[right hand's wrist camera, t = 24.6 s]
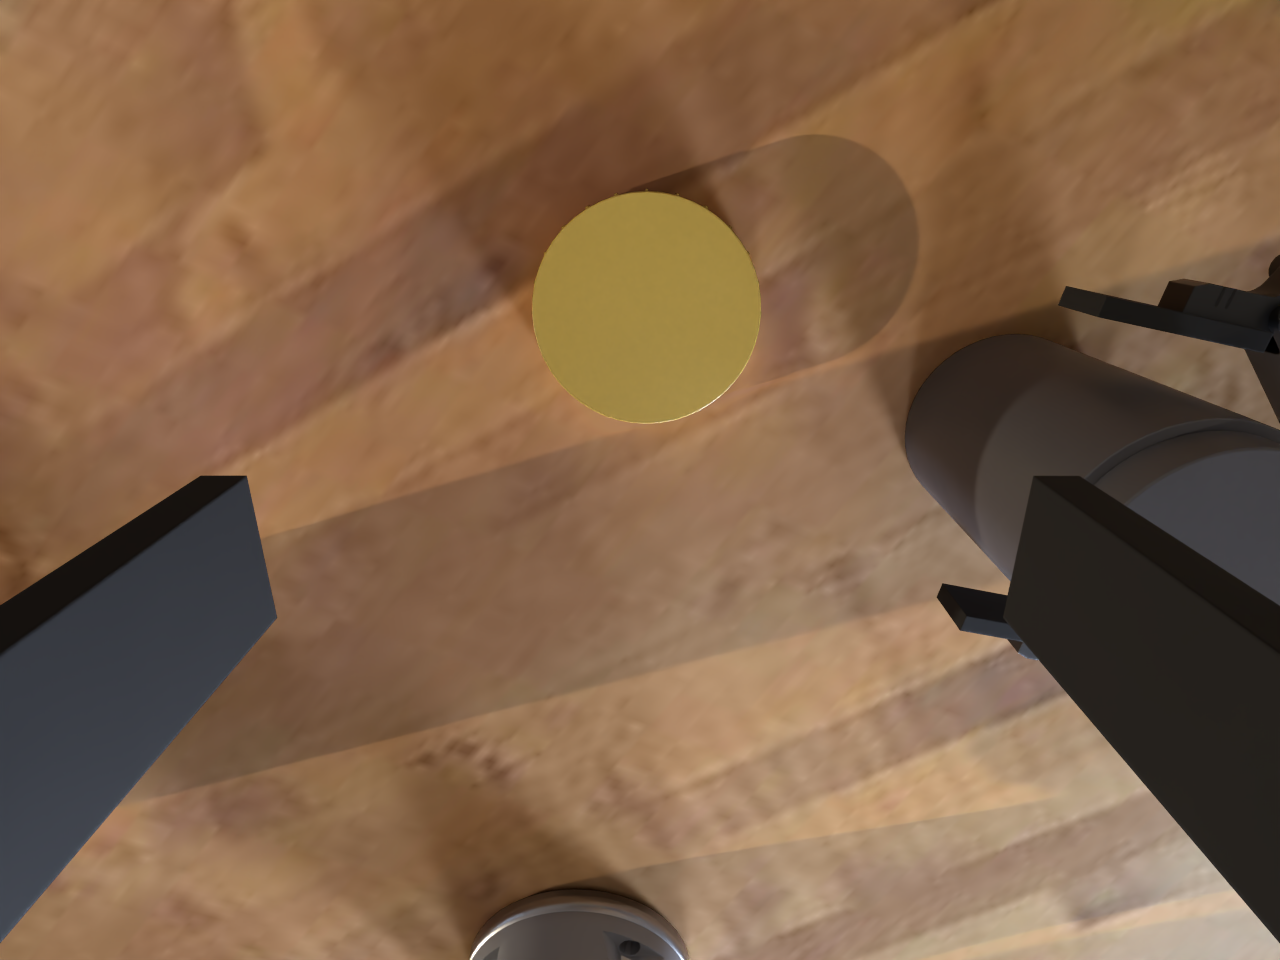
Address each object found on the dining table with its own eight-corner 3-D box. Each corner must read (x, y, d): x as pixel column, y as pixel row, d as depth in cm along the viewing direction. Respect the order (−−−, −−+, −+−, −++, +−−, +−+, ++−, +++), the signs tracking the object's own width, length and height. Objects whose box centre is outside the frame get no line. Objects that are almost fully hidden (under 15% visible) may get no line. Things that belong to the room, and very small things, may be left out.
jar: (956, 541, 38) (1131, 741, 25) (871, 406, 35) (1015, 547, 22) (1121, 445, 36) (1414, 606, 22) (1045, 294, 33) (1325, 372, 20)
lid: (624, 138, 31) (623, 135, 29) (801, 286, 33) (810, 292, 32) (494, 327, 34) (486, 335, 32) (664, 452, 36) (665, 465, 35)
